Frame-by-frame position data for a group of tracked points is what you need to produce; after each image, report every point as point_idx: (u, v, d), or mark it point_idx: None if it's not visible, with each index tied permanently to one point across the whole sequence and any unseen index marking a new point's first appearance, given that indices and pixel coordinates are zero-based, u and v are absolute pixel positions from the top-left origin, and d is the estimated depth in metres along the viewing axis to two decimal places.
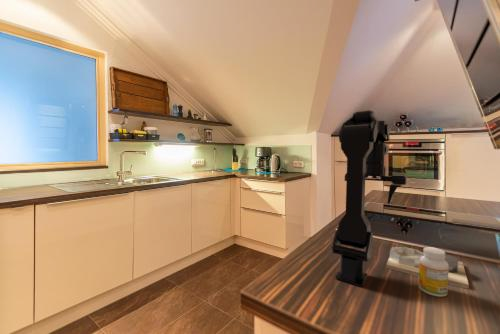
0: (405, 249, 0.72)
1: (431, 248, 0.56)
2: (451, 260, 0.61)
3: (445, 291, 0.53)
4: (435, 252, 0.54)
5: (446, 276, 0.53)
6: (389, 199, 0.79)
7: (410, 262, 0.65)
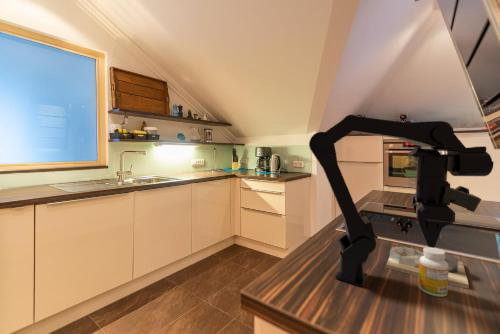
0: (405, 249, 0.72)
1: (431, 248, 0.56)
2: (451, 260, 0.61)
3: (445, 291, 0.53)
4: (435, 252, 0.54)
5: (446, 276, 0.53)
6: (425, 238, 0.53)
7: (410, 262, 0.65)
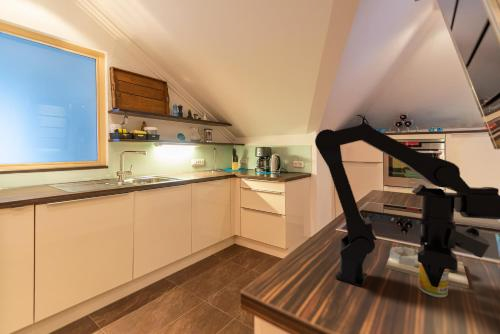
0: (405, 249, 0.72)
1: None
2: None
3: (445, 292, 0.52)
4: None
5: (446, 276, 0.52)
6: (428, 277, 0.53)
7: (410, 262, 0.65)
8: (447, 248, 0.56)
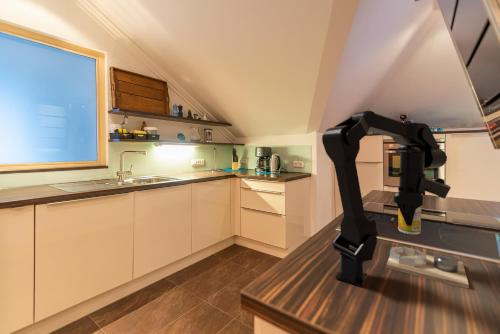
0: (405, 249, 0.72)
1: None
2: (451, 260, 0.61)
3: (418, 230, 0.65)
4: None
5: (419, 217, 0.65)
6: (404, 218, 0.66)
7: (410, 262, 0.65)
8: None
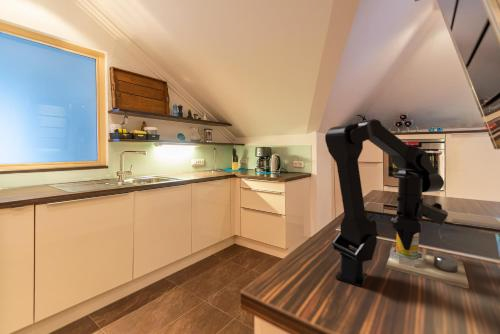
0: None
1: None
2: (451, 260, 0.61)
3: (416, 254, 0.66)
4: None
5: (417, 242, 0.66)
6: (402, 243, 0.66)
7: (410, 262, 0.65)
8: None
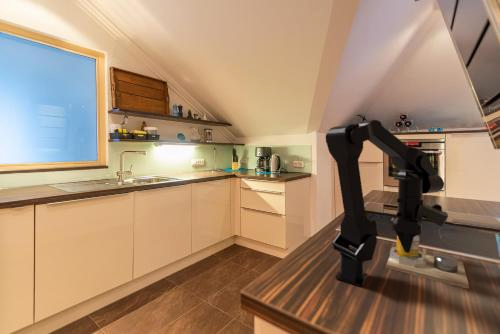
0: None
1: None
2: (451, 260, 0.61)
3: None
4: None
5: (417, 246, 0.66)
6: (402, 245, 0.66)
7: (410, 262, 0.65)
8: (419, 221, 0.70)
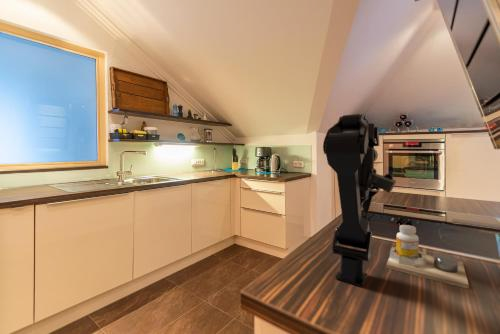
0: None
1: (405, 225, 0.69)
2: (451, 260, 0.61)
3: None
4: (408, 228, 0.67)
5: (416, 246, 0.66)
6: None
7: (410, 262, 0.65)
8: (375, 191, 0.75)
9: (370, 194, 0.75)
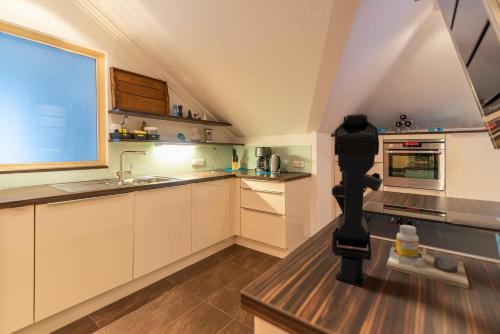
0: None
1: (406, 225, 0.69)
2: (451, 260, 0.61)
3: None
4: (408, 228, 0.67)
5: (416, 246, 0.66)
6: None
7: (410, 262, 0.65)
8: None
9: None
